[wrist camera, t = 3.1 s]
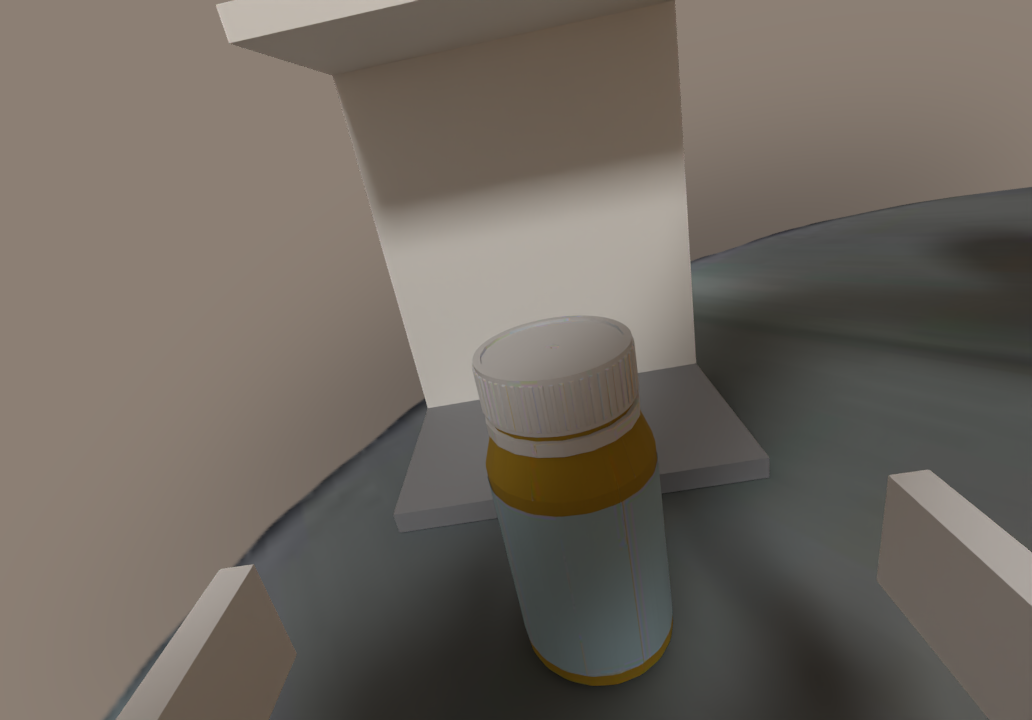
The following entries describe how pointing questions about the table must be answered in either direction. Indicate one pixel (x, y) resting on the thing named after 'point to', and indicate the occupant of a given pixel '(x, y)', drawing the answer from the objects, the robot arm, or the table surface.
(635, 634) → the bottle
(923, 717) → the table surface
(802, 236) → the table surface
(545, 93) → the shelf unit
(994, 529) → the robot arm
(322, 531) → the table surface
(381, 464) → the table surface
